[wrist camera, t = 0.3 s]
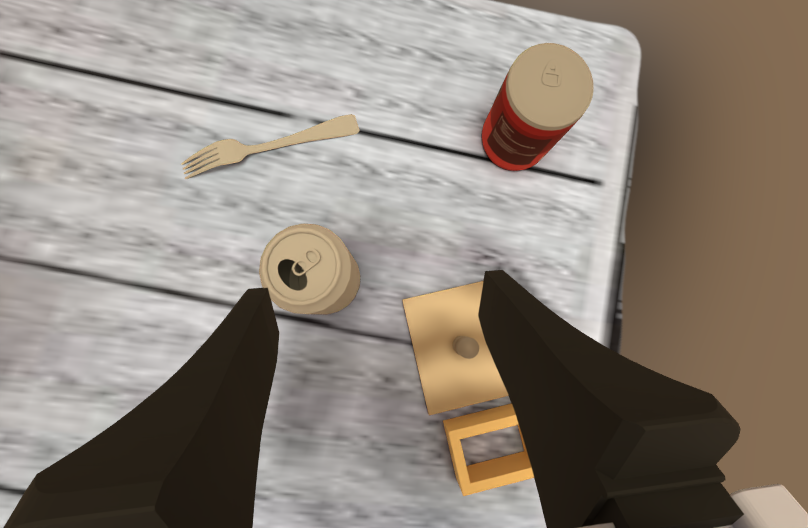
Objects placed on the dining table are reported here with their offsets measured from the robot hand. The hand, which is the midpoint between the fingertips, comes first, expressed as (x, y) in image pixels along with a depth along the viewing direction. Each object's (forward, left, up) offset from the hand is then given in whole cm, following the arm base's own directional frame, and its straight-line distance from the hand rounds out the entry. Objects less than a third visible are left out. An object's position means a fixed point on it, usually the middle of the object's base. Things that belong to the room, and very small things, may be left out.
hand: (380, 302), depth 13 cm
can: (+5, +6, -29) cm, 30 cm away
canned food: (+16, -18, -29) cm, 38 cm away
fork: (+21, +9, -30) cm, 37 cm away
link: (-15, -7, -29) cm, 34 cm away
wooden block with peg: (-5, -7, -29) cm, 30 cm away
